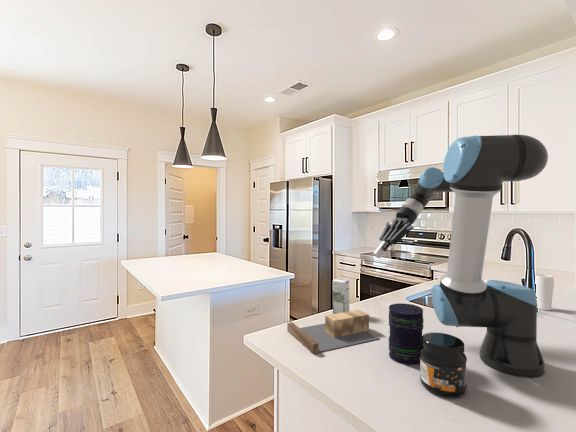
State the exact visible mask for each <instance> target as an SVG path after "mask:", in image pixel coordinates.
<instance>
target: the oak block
mask: <svg viewBox="0 0 576 432" xmlns="http://www.w3.org/2000/svg"><path fill="white" fill-rule="evenodd" d="M324 324H325V332H327V333H328V334H329V335H331V336H332V337H334V338H336V337H341V336H346V335H350V334H355V333H360V332H365V331H367V332H369V331H370V314H369V313H367V312H365V311H362V310H361V309H356V310H349V311H348V312H342V313H331V314H325V316H324Z"/></svg>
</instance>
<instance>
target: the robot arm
mask: <svg viewBox="0 0 576 432" xmlns="http://www.w3.org/2000/svg"><path fill="white" fill-rule="evenodd" d="M548 159H549V153H548V150H547V148H546V146H545V144H544V143H542V142H541V140H539V139H537V138H535V137H533V136H530V135H527V134H504V135H503V134H500V135H471V136H463V137H459V138H457V139H455V140H454V141H453V142H451V144H450V146H449V147H448V149H447V151H446V154H445V156H444V159H443V164H442V170H441V169H440V168H436V167H433V166H432V167H427V168H425V169H424V170H423V172H422V173H421V174H420V176H419V177H418V180H417V183H416V185H415V186H414V189H413V190H412V192H411V193H410V195H408V196H409V197H408V198H407V199H406V200H405V201H404V203H403V204H402V205H401V207H400V208H399V209H398V210H397V212H396V214H395V218H394V219H393V220H392V221H391V222H388V221H387V222H386V224H385V227H384V229H383V231H382V233H381V234H380V236H379V241H380V243H379V244H378V245H377V247H376V248H375V250H374V251H373V255H374V256H375V258H376V259H381V257H382V256H383V255H384V253H385V252H386V251H388V249H389V247H390V246H392V245H394V246H395V245H397V244H398V243H399V242H400V241H401V240H402V239H403V238H404V237H405V236H406V235H407V234H408V233H409V232H410V231H412V230H413V229H414V226H413V224H415V222H416V220H417V219H418V217H419V216H420V215H421V213H422V212H423V211H424V209H425V207H427V205H428V204H429V202H430V201H431V200H432V198H434V196H435V194H436V193H454V195H455V196H454V203H453V204H454V206H453V215H452V223H451V232H450V244H449V252H448V261H447V271H446V273H444V274H443V275H442V276H441V277H440V280H439V281H440V282H439V284H434V285H433V286H432V287H431V293H430V294H431V302H432V306H433V311H434V313H435V315H436V317H437V320H438V321H439V322H440V323H441V324H442V325H444V326H446V327H447V326H448V327H456V328H460V327H467V328H486V333H485V335H484V338H483V340H482V343H481V346H480V347H479V358H480V360H481V361H482V363H484V364H486V365H487V366H488V367H490V368H492V369H494V370H497V371H500V372H502V373H505V374H509V375H512V376H517V377H523V378H524V377H525V378H537V377H541V376H543V375H544V374H545V372H546V368H545V366H546V365H545V362H544V358H543V355H542V353H541V350H540V348H539V344H538V340H537V335H538V334H537V329H538V328H537V327H538V326H537V324H538V323H537V319H538V318H537V317H538V315H537V314H538V311H537V310H538V309H537V307H538V305H537V298H536V293H535V290H534V289H532V288H530V287H527V286H525V285H521V284H518V283H514V282H510V281H504V280H498V279H489V280H487V281H486V282H485V281H484V280H483V279H482V277H483V270H484V263H485V257H486V249H487V242H488V235H489V228H490V220H491V215H492V206H493V199H494V196H496V194H498V193H500V192H501V191H502V185H503V182H520V181H525V180H529V179H532V178H535V177H536V176H538V175H539V174H540V173H542V171H543V170H544V169H545V168H546V166H547V163H548Z"/></svg>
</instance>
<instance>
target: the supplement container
mask: <svg viewBox="0 0 576 432" xmlns="http://www.w3.org/2000/svg"><path fill="white" fill-rule="evenodd" d="M467 361H468V358H467V356H466V353H465V341H463V340H462V339H460V337H457V336H454V335H452V334H448V333H444V332H428V333H427V332H426V333H424V334H422V346H421V348H420V364H419V365H420V367H419V368H420V370H419V373H420V375H419V380H420V383H421V385H422V386H423V387H424V388H425V389H426V390H428V391H429V392H431V393H433V394H436V395H438V396H441V397H445V398H457V397H461V396H463V395H464V394H466V392H467Z"/></svg>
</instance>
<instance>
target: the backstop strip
mask: <svg viewBox="0 0 576 432" xmlns="http://www.w3.org/2000/svg"><path fill="white" fill-rule="evenodd" d="M286 324H287V325H286V329H287V333H289V334H290V335H291V336H292V337H293V338H294V339H296V340H297V342H299V343H300V344H301V345H302V346H304V348H306V349H307V350H308V351H309V352H310V353H311V354H313V355H314V354H315V355H316V354H319V343H318V342H316V341H315V340H314V339H313V338H311V337H310V336H309V335H308V334H306V333H305V332H304V331H303V330H301V329H300V328H301V327H299V326H298V325H297V324H296V323H295V322H293V321H291V322H286Z"/></svg>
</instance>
